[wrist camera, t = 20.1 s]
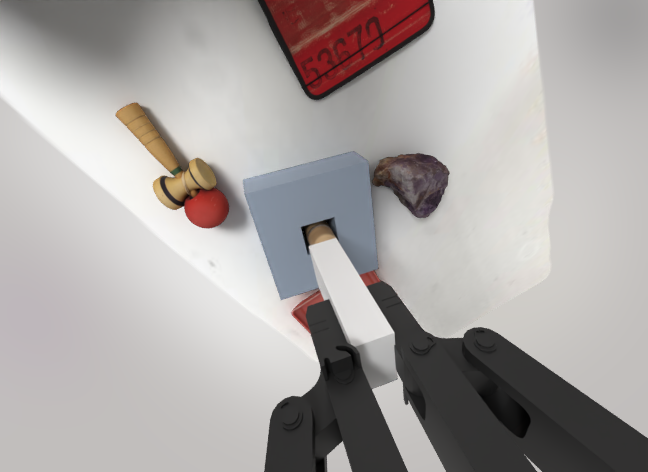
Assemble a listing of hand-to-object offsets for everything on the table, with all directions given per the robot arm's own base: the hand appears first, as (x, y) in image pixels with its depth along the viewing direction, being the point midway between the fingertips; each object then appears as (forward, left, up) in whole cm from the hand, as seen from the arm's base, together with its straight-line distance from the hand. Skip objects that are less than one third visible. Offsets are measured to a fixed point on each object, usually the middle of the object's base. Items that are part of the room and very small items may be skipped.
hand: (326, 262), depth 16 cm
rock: (+11, +21, -33) cm, 41 cm away
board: (+15, +4, -32) cm, 36 cm away
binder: (-14, +15, -33) cm, 39 cm away
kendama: (+1, -13, -33) cm, 35 cm away
